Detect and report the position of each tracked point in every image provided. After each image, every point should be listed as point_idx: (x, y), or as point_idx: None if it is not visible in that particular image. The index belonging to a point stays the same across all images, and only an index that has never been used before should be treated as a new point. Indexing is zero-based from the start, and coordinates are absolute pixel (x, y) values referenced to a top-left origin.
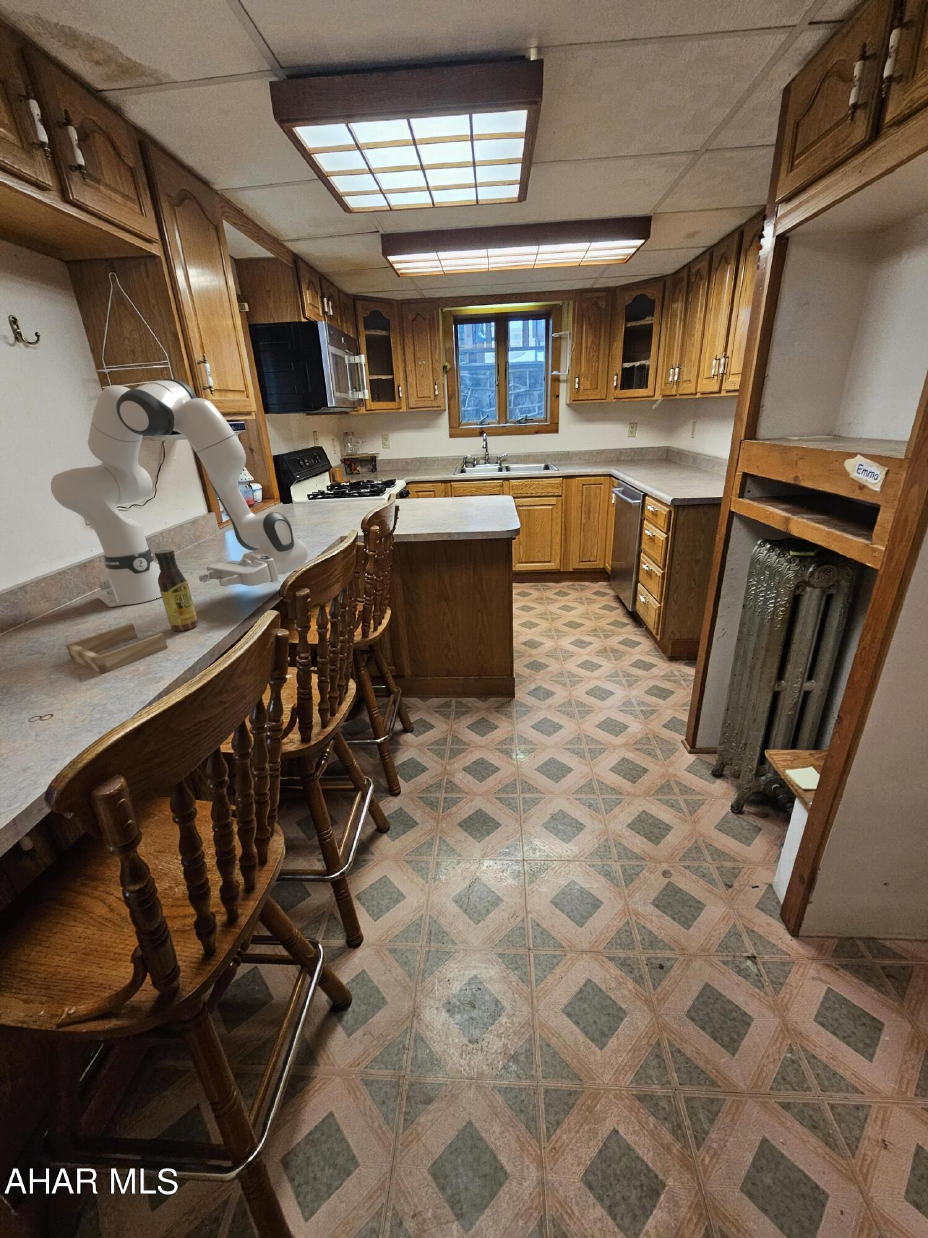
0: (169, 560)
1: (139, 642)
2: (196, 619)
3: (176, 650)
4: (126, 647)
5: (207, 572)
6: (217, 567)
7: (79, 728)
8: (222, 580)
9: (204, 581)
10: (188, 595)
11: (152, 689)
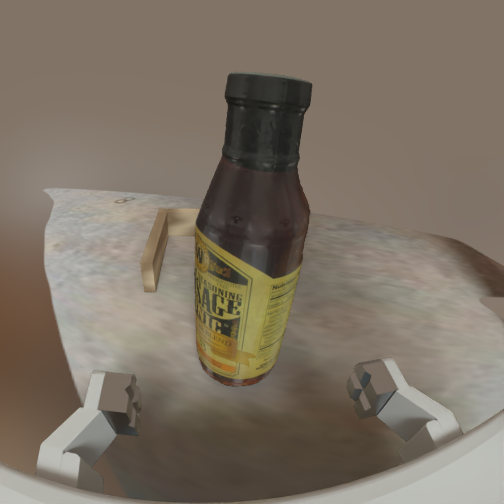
0: (227, 114)
1: (151, 238)
2: (208, 367)
3: (114, 292)
4: (154, 227)
5: (427, 404)
6: (446, 460)
7: (71, 205)
8: (95, 371)
9: (349, 390)
10: (202, 290)
11: (50, 238)
